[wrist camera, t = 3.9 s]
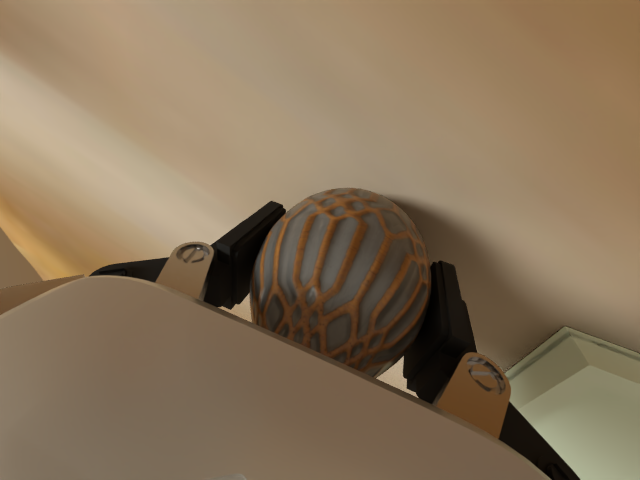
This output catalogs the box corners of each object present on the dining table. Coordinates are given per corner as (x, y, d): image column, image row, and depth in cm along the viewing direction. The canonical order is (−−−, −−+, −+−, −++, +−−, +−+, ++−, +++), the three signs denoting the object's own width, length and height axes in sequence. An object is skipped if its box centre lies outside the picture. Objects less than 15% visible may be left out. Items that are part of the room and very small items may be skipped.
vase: (461, 224, 11) (538, 456, 4) (373, 302, 15) (335, 486, 8) (336, 140, 11) (195, 227, 4) (281, 241, 15) (163, 372, 8)
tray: (565, 326, 12) (589, 364, 10) (947, 465, 10) (1060, 545, 8) (433, 429, 20) (435, 460, 18) (627, 519, 18) (649, 564, 16)
